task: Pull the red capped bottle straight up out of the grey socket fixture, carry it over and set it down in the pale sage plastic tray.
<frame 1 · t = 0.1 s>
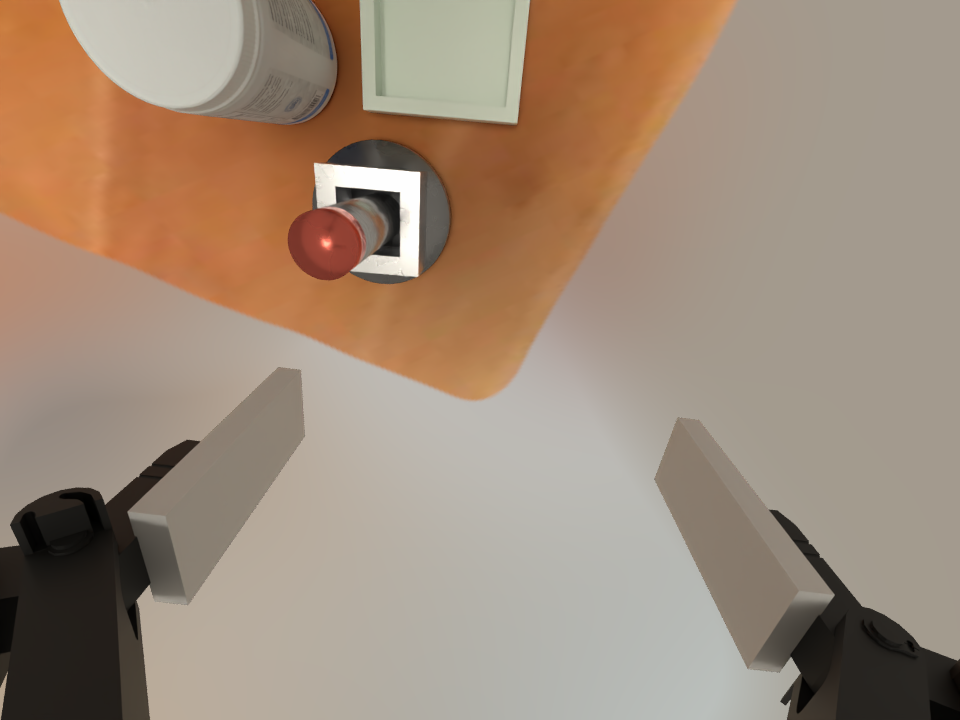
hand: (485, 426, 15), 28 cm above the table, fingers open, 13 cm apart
supplement tub: (283, 59, 34), on the table
tray: (447, 30, 33), on the table
red capped bottle: (380, 216, 38), point 1 cm above the table, touching grey socket fixture
grey socket fixture: (385, 214, 39), on the table
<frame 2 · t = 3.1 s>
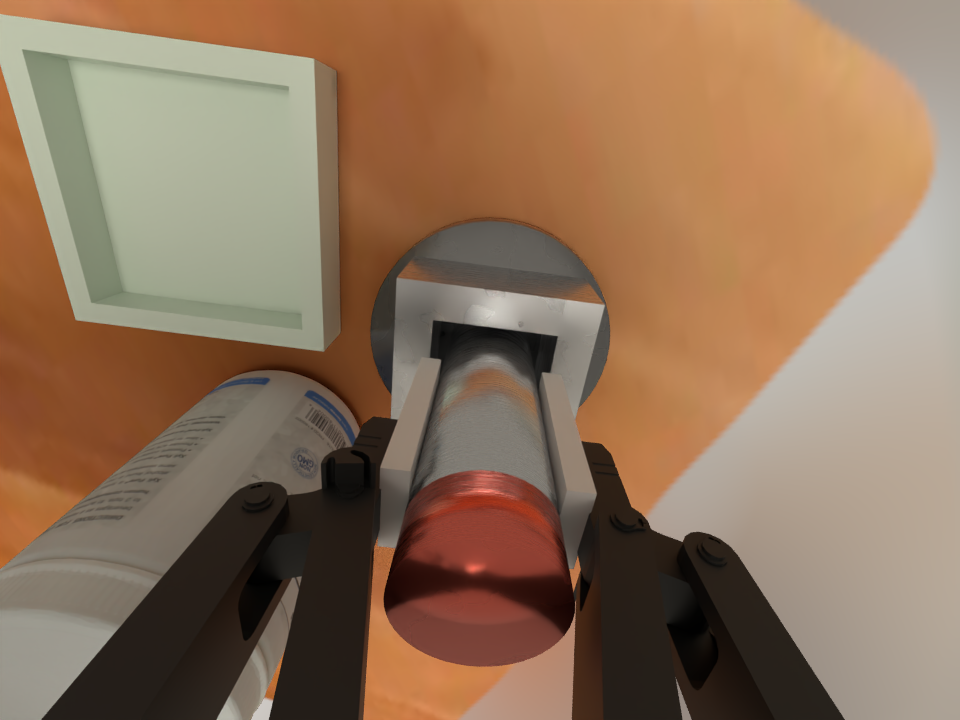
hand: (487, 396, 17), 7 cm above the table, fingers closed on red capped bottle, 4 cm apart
supplement tub: (292, 431, 26), on the table
tray: (213, 201, 21), on the table
red capped bottle: (489, 345, 22), point 1 cm above the table, touching gripper, grey socket fixture
grey socket fixture: (489, 334, 23), on the table
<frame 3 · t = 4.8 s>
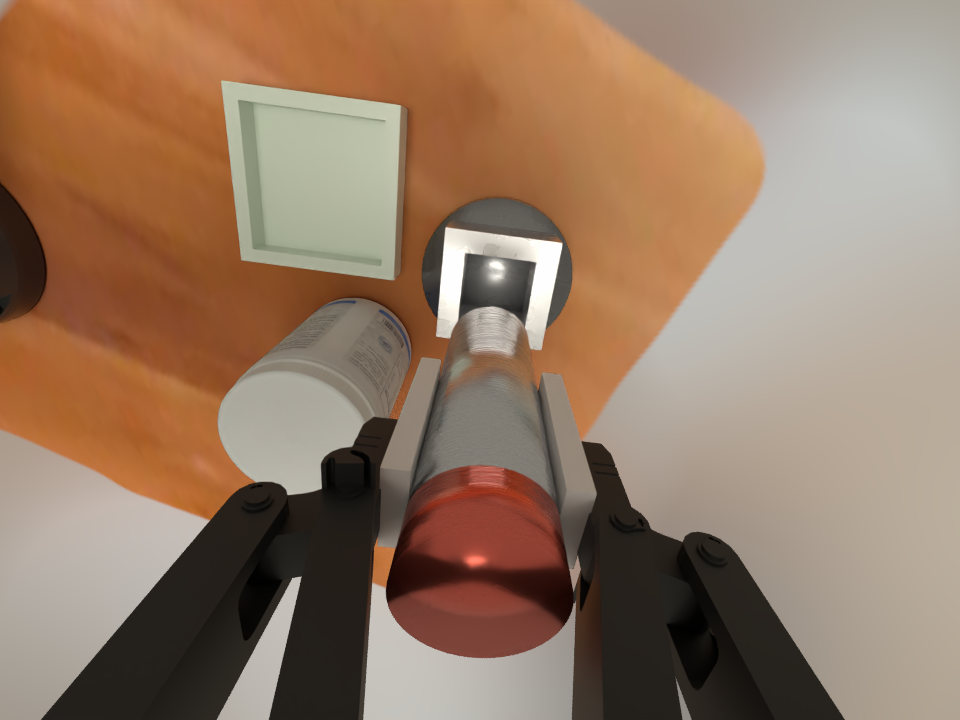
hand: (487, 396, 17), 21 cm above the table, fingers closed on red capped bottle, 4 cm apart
supplement tub: (363, 344, 39), on the table
tray: (327, 186, 33), on the table
red capped bottle: (489, 344, 22), point 15 cm above the table, touching gripper
grey socket fixture: (496, 273, 36), on the table
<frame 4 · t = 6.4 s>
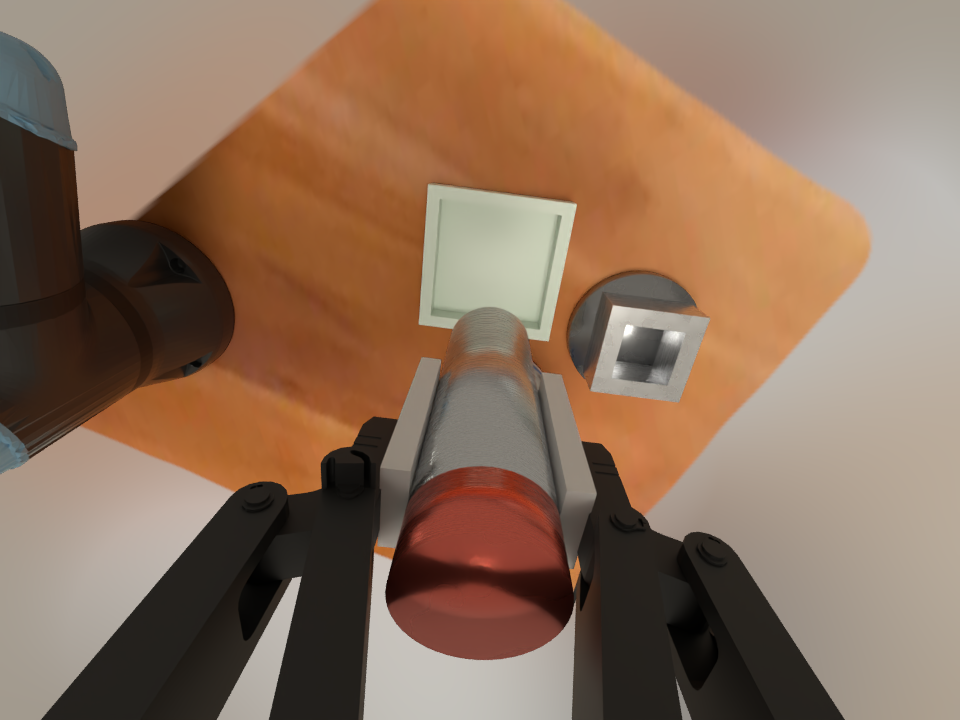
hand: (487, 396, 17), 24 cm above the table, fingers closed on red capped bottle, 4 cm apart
tray: (492, 262, 39), on the table
red capped bottle: (489, 344, 22), point 19 cm above the table, touching gripper
grey socket fixture: (629, 332, 42), on the table
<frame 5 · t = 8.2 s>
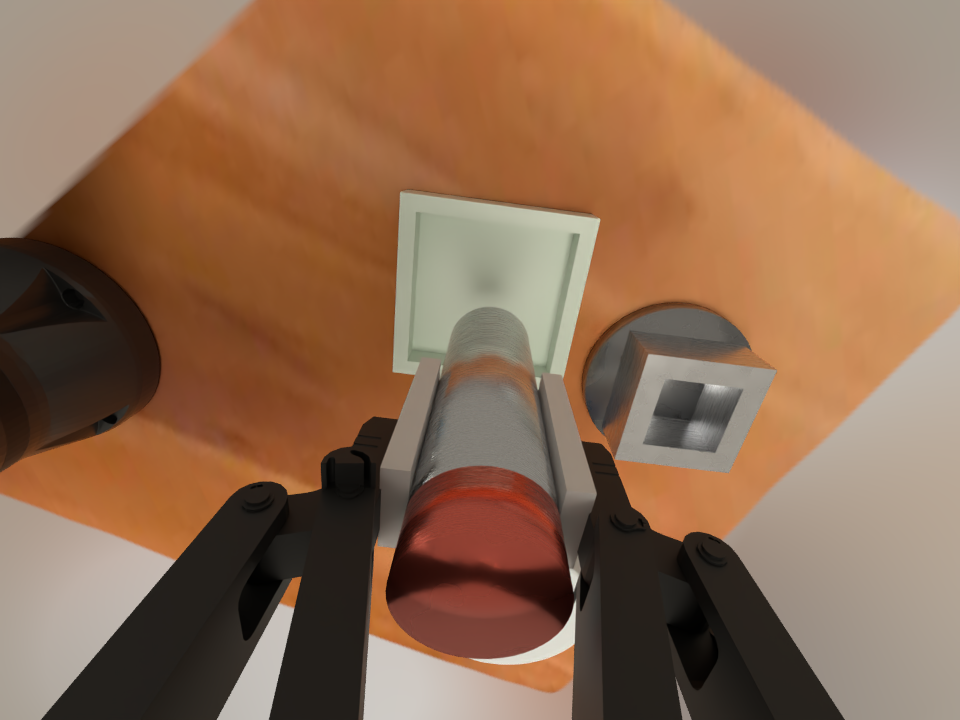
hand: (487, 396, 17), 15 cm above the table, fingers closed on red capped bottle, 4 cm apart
supplement tub: (501, 444, 36), on the table
tray: (488, 291, 30), on the table
red capped bottle: (489, 344, 22), point 9 cm above the table, touching gripper
grey socket fixture: (661, 378, 33), on the table
when the fingers open (7 cm above the table, at t = 9.9 s): red capped bottle drops 1 cm, resting on tray.
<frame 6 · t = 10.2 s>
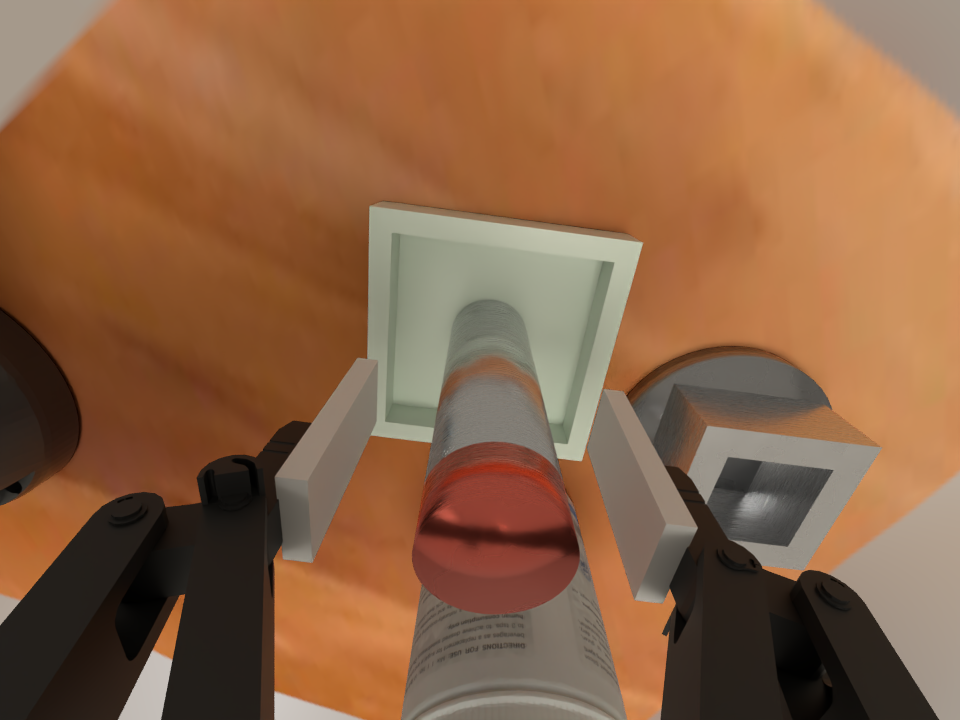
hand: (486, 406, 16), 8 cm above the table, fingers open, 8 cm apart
supplement tub: (505, 512, 29), on the table
tray: (489, 331, 23), on the table
red capped bottle: (488, 335, 23), point 1 cm above the table, touching tray
grey socket fixture: (709, 437, 26), on the table
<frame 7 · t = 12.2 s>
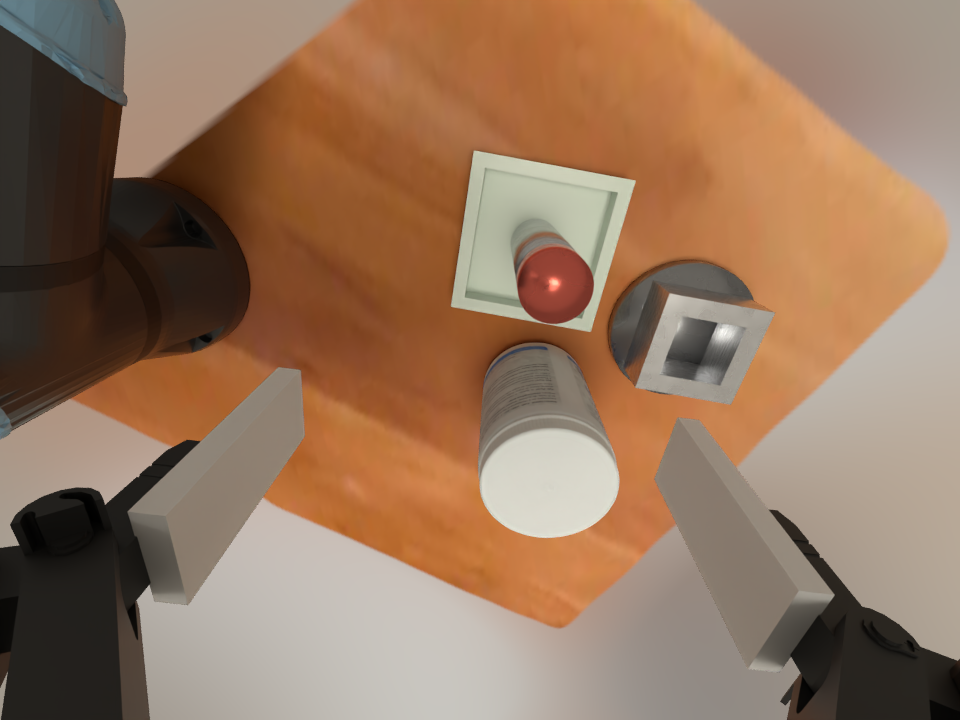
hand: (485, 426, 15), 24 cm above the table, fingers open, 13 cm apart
supplement tub: (533, 383, 42), on the table
tray: (534, 242, 36), on the table
red capped bottle: (534, 243, 35), point 1 cm above the table, touching tray
grey socket fixture: (676, 327, 38), on the table
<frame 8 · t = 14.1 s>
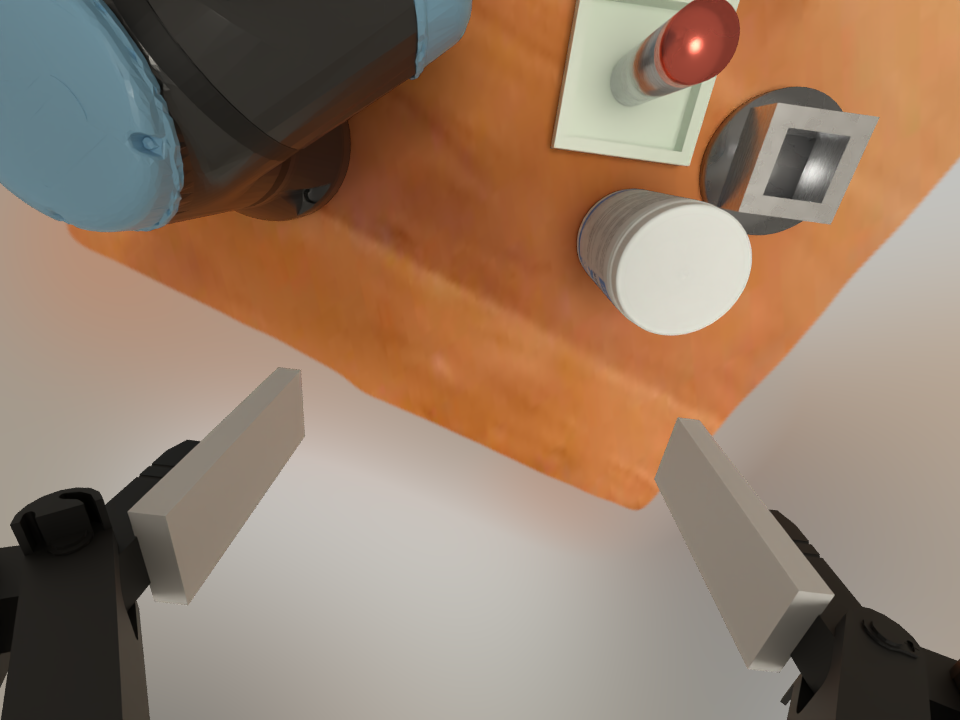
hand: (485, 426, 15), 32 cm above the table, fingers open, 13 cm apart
supplement tub: (623, 238, 43), on the table
tray: (632, 80, 37), on the table
red capped bottle: (633, 79, 37), point 1 cm above the table, touching tray
grey socket fixture: (766, 165, 40), on the table
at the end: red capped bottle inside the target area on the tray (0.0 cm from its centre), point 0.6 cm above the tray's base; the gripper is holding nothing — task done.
